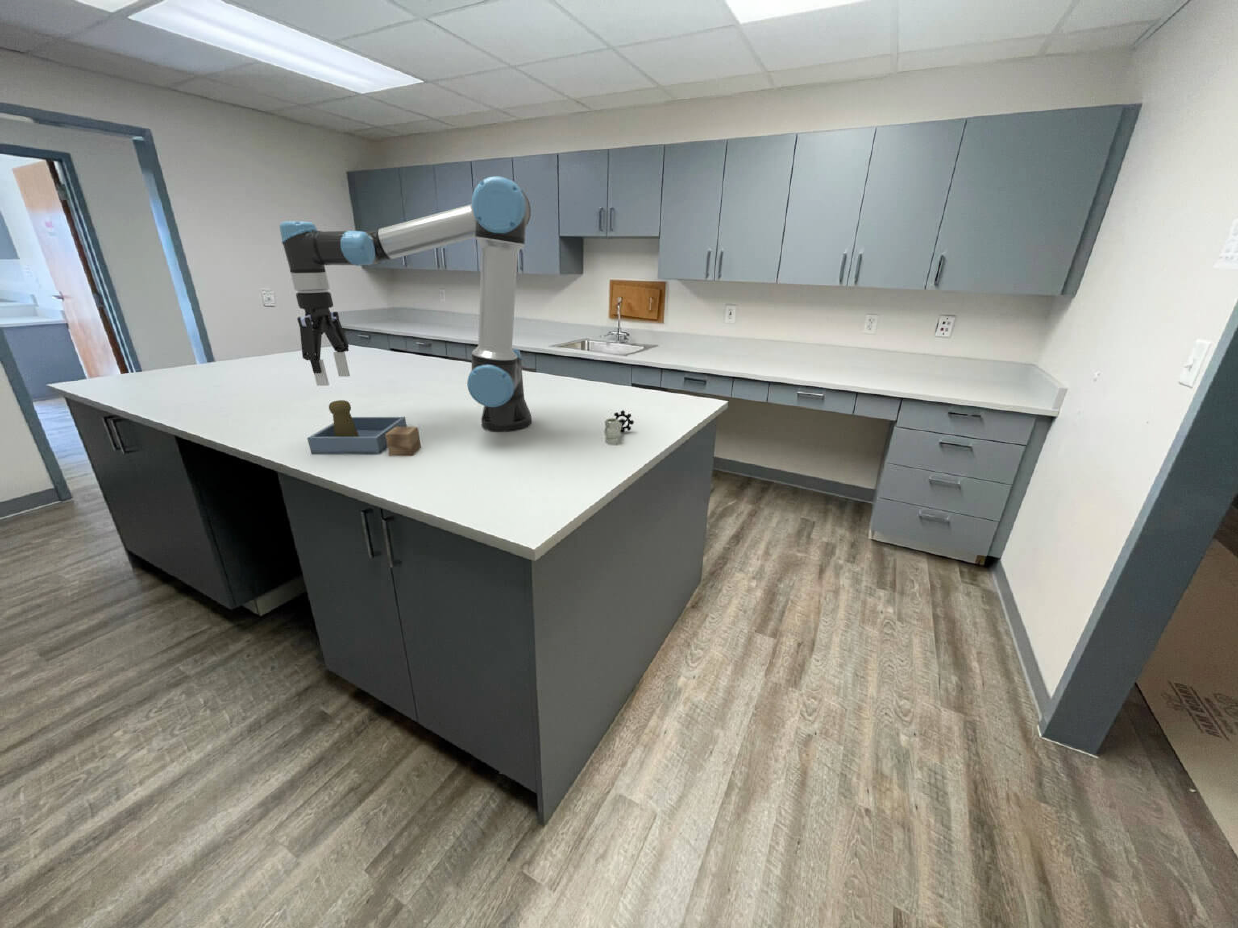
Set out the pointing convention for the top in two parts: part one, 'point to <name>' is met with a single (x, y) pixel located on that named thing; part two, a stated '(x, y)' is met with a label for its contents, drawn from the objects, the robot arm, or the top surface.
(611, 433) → the valve
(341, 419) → the cork
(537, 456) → the top surface
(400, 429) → the walnut block
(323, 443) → the tray
